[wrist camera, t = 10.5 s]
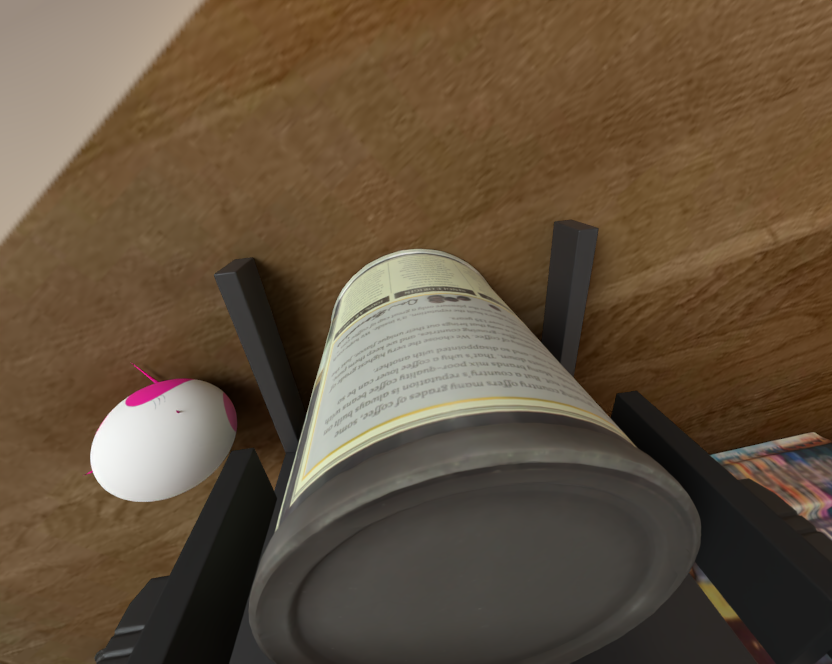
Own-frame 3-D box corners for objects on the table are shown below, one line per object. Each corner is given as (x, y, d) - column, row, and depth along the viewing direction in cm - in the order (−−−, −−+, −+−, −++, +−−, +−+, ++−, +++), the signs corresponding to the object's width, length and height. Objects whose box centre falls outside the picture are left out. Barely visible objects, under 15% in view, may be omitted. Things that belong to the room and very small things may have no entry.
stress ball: (232, 329, 22) (129, 322, 16) (288, 434, 21) (201, 474, 14) (151, 387, 23) (22, 403, 17) (200, 489, 22) (82, 550, 15)
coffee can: (522, 352, 22) (720, 616, 9) (388, 419, 23) (401, 725, 11) (457, 208, 17) (683, 349, 4) (292, 304, 18) (119, 611, 6)
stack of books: (844, 420, 29) (1362, 709, 14) (774, 534, 37) (1045, 789, 22) (591, 476, 28) (833, 833, 13) (579, 578, 37) (719, 865, 22)
